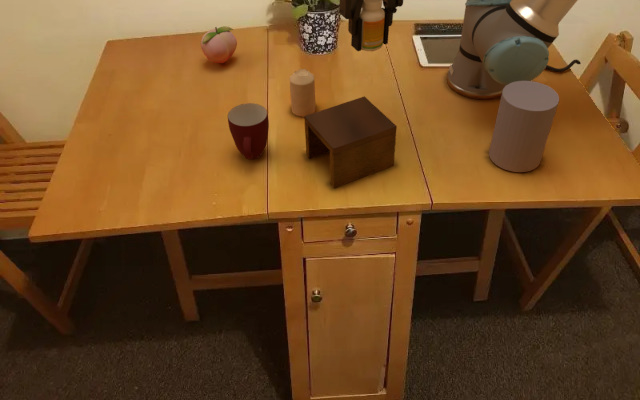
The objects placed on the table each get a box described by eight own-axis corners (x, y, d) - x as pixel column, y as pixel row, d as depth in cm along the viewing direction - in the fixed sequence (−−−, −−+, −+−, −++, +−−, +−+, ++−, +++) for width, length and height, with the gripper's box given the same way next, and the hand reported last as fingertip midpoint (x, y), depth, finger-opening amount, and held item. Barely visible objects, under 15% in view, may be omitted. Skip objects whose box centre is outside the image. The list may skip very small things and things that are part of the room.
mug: (274, 171, 119) (270, 131, 112) (234, 175, 118) (227, 136, 111) (270, 139, 126) (266, 101, 119) (233, 143, 126) (226, 105, 119)
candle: (312, 118, 132) (311, 79, 125) (289, 115, 133) (286, 77, 126) (317, 104, 136) (316, 66, 129) (294, 102, 137) (292, 64, 130)
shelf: (363, 135, 127) (364, 96, 120) (393, 165, 119) (396, 126, 112) (306, 155, 122) (304, 115, 115) (333, 188, 114) (333, 148, 107)
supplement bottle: (388, 45, 117) (391, -2, 110) (370, 54, 114) (373, 7, 108) (368, 36, 120) (370, -10, 113) (350, 45, 117) (351, -1, 110)
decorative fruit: (221, 50, 155) (215, 15, 148) (244, 59, 152) (239, 23, 145) (196, 66, 150) (189, 30, 143) (219, 75, 146) (213, 38, 139)
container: (484, 141, 124) (497, 80, 113) (533, 141, 123) (551, 80, 113) (493, 173, 116) (508, 111, 106) (545, 173, 116) (565, 111, 106)
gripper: (409, -92, 106) (398, 26, 122) (318, -76, 100) (320, 46, 116) (432, -80, 101) (418, 42, 117) (338, -62, 96) (337, 63, 111)
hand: (369, 44), depth 117 cm, fingers closed on supplement bottle, 5 cm apart
